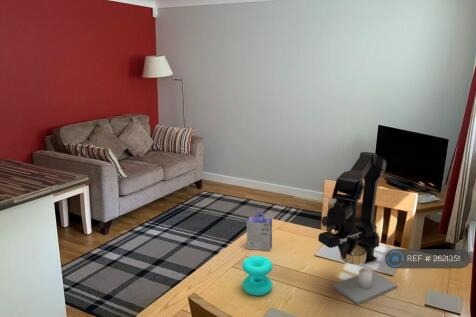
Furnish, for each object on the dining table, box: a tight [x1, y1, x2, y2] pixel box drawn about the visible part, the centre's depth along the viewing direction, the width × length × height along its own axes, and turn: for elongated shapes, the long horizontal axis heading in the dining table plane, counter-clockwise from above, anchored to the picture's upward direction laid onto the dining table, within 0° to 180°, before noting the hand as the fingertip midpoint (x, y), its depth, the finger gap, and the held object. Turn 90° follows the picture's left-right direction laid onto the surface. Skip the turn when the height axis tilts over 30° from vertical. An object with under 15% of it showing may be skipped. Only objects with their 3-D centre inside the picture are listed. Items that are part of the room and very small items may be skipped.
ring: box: [339, 245, 367, 266], centre depth 126 cm, size 8×8×3 cm
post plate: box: [332, 267, 398, 306], centre depth 126 cm, size 18×11×6 cm, turn 119°
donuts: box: [241, 255, 274, 296], centre depth 126 cm, size 10×10×10 cm
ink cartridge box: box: [246, 212, 273, 252], centre depth 154 cm, size 10×6×14 cm, turn 78°
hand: (345, 257), depth 125 cm, fingers closed on ring
